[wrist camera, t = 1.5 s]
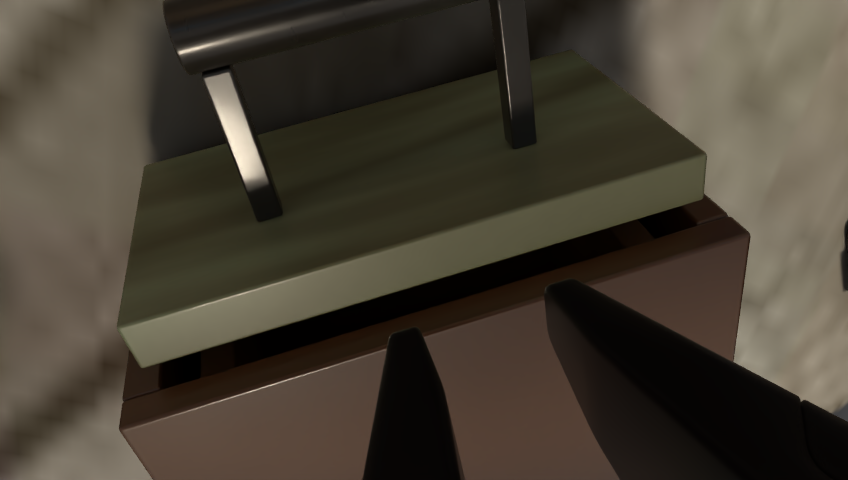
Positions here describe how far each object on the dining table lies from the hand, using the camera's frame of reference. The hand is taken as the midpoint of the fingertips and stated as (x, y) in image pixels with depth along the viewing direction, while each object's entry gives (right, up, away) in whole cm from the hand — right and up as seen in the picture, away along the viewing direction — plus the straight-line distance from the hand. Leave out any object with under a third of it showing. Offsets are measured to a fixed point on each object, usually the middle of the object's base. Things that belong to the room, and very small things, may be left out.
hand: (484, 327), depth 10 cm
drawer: (-2, +2, +12) cm, 12 cm away
